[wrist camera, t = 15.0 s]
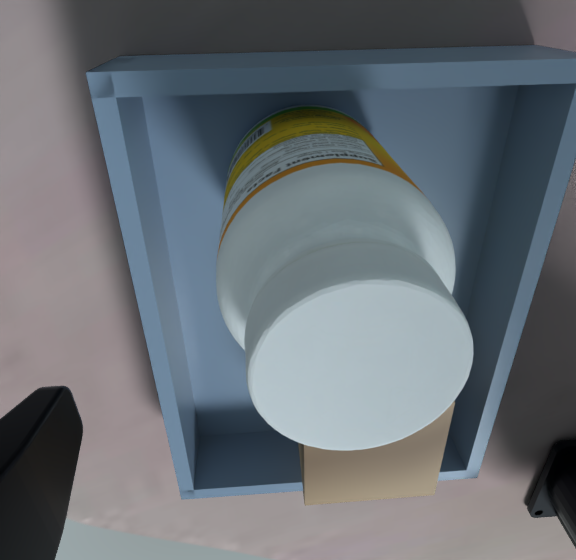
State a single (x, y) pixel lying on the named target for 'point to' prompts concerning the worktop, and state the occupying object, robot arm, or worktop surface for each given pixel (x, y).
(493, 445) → the worktop surface
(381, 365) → the supplement bottle
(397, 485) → the cube
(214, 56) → the tote
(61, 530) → the robot arm
